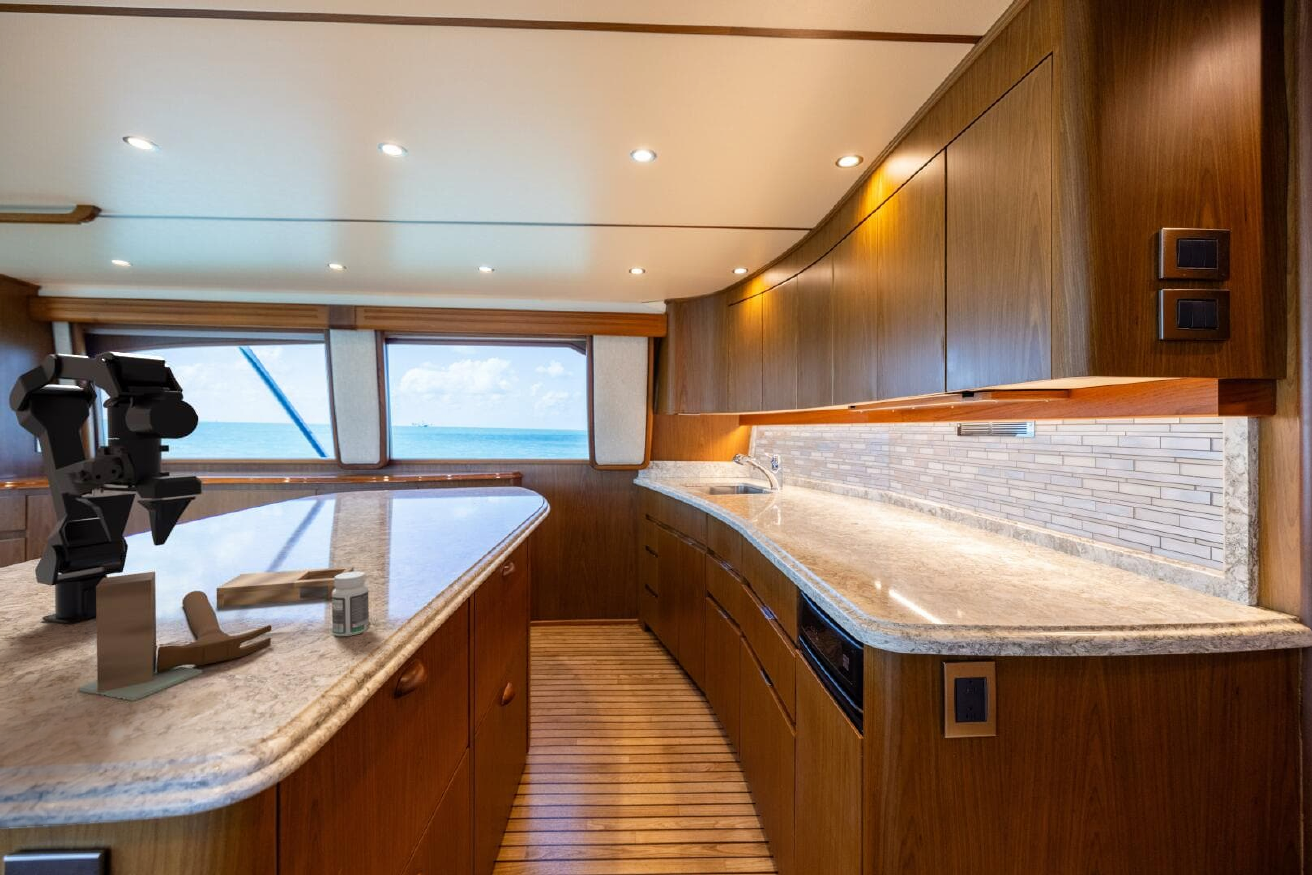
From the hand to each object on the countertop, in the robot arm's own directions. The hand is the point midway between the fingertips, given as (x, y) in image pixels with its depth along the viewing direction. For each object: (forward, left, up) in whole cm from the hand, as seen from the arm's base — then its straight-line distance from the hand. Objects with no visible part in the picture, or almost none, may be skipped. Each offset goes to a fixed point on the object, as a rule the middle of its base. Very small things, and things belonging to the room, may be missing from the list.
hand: (136, 543), depth 80 cm
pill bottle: (+31, +8, -13) cm, 35 cm away
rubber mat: (+20, -12, -13) cm, 26 cm away
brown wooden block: (+19, -12, -13) cm, 26 cm away
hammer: (+12, +2, -13) cm, 18 cm away
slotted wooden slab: (+9, +17, -13) cm, 23 cm away
